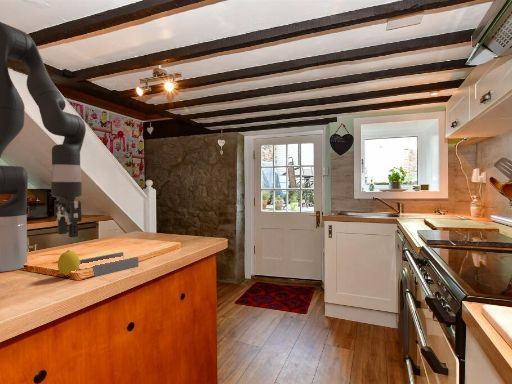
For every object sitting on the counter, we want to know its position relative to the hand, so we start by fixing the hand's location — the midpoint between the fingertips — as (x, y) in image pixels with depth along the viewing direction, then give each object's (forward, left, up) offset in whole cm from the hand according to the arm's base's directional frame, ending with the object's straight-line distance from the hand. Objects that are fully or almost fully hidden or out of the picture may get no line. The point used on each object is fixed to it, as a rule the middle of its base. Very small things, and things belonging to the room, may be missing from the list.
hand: (67, 235), depth 86 cm
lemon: (0, 0, -13) cm, 13 cm away
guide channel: (0, +12, -13) cm, 17 cm away
